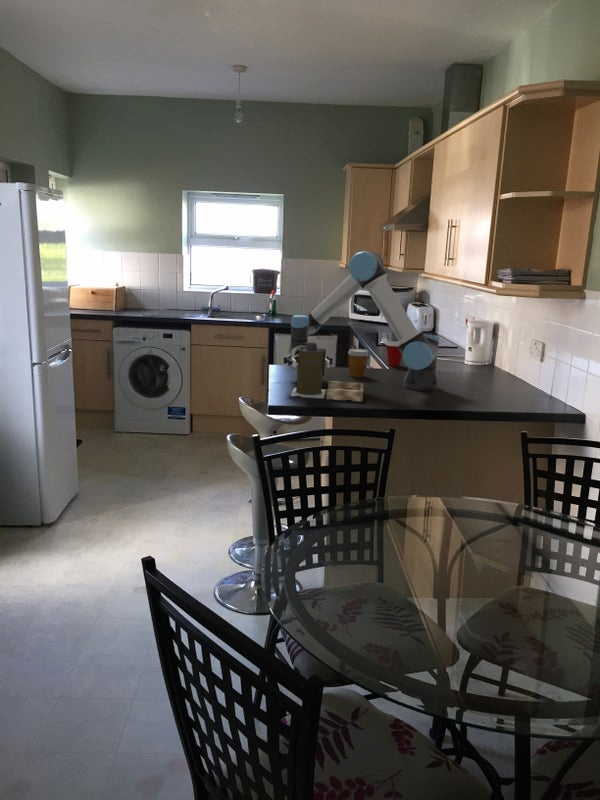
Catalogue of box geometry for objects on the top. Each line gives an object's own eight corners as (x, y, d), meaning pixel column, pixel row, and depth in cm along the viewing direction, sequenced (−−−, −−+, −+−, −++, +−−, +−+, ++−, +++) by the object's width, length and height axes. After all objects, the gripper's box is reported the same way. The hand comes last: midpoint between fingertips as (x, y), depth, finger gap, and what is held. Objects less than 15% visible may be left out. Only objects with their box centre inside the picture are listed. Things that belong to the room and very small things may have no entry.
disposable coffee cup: (366, 378, 298) (368, 352, 295) (345, 376, 299) (347, 351, 297) (367, 374, 307) (369, 349, 304) (347, 373, 308) (349, 348, 306)
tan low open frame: (362, 392, 268) (363, 383, 267) (362, 401, 253) (363, 391, 252) (328, 390, 269) (328, 381, 268) (326, 399, 254) (326, 389, 253)
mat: (325, 390, 268) (325, 389, 268) (323, 398, 255) (323, 397, 255) (294, 388, 269) (294, 387, 269) (290, 396, 256) (290, 394, 256)
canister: (300, 395, 255) (302, 344, 251) (292, 389, 265) (295, 340, 261) (326, 394, 259) (329, 344, 254) (318, 389, 268) (321, 340, 264)
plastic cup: (378, 365, 334) (380, 341, 331) (390, 363, 342) (392, 340, 339) (397, 368, 327) (399, 344, 324) (408, 366, 335) (410, 343, 332)
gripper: (330, 364, 279) (342, 374, 259) (273, 363, 275) (280, 373, 255) (331, 346, 278) (343, 355, 257) (273, 345, 273) (280, 354, 253)
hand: (311, 364), depth 256 cm, fingers open, 13 cm apart
